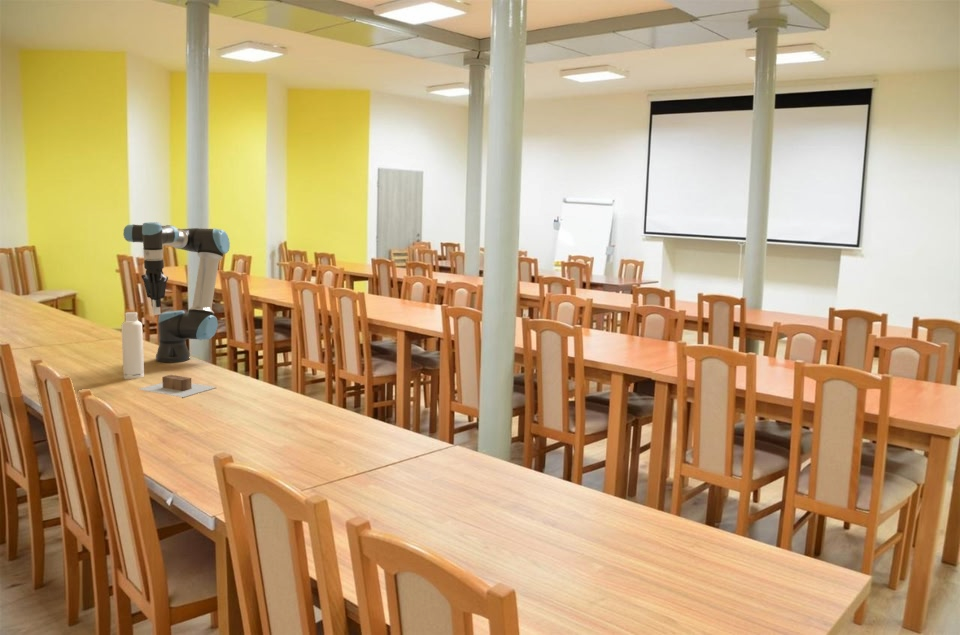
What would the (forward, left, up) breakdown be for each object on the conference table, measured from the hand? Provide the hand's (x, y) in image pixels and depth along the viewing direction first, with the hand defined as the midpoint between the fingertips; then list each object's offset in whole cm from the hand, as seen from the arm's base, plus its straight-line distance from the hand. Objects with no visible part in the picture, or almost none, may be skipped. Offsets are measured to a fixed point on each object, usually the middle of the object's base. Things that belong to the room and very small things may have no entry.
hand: (156, 314), depth 322 cm
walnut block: (+11, +17, -25) cm, 32 cm away
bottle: (+6, -8, -28) cm, 29 cm away
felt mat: (+12, +22, -27) cm, 37 cm away
